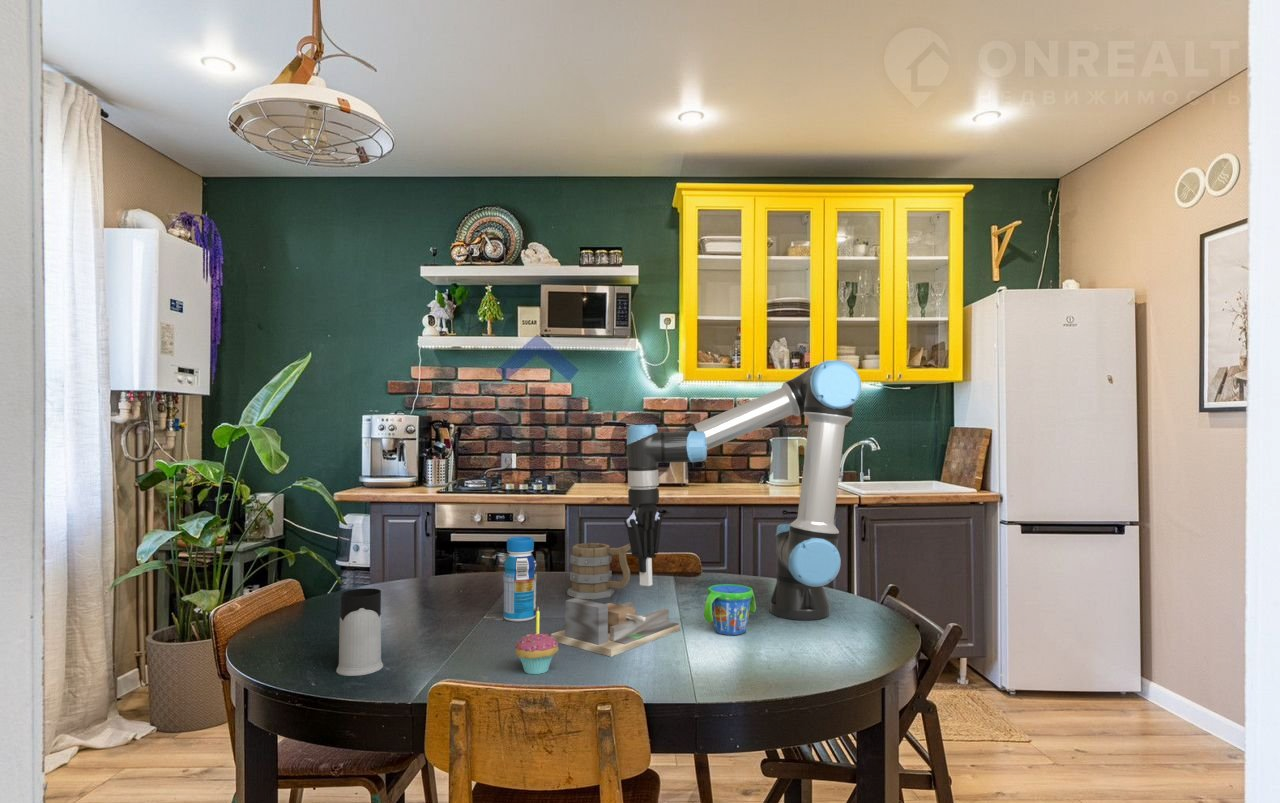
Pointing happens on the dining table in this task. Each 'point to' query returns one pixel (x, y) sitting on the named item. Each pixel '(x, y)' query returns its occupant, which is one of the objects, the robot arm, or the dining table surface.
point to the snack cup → (729, 608)
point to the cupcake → (536, 650)
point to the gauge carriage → (621, 614)
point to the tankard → (596, 570)
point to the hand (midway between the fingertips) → (646, 584)
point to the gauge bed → (591, 628)
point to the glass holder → (360, 632)
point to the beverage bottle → (520, 580)
